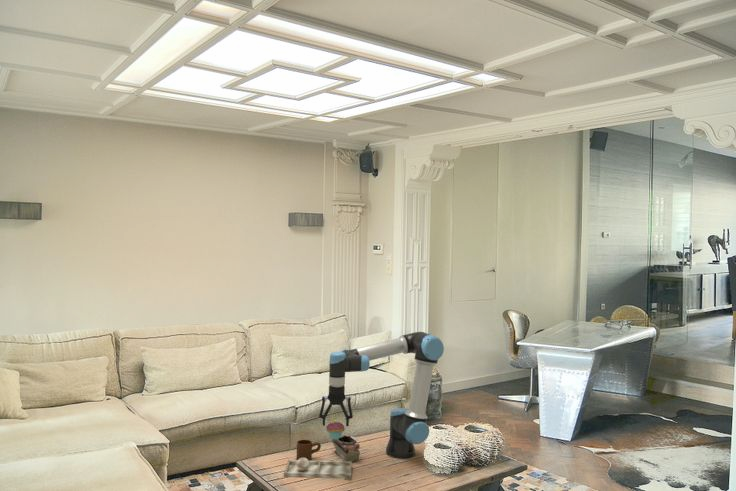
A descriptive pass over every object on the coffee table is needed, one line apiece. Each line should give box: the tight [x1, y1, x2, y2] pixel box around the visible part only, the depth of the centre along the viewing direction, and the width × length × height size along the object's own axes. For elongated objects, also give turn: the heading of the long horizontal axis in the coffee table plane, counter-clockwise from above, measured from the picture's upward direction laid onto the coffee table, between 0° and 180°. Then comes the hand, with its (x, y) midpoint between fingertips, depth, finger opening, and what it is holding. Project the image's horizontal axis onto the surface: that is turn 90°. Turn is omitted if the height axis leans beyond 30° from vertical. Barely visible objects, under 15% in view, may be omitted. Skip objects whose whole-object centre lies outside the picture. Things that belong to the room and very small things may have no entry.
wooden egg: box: [297, 457, 309, 471], centre depth 290 cm, size 6×6×6 cm
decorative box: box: [331, 434, 361, 463], centre depth 312 cm, size 13×20×10 cm, turn 18°
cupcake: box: [327, 413, 345, 440], centre depth 290 cm, size 9×8×12 cm
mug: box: [296, 439, 322, 461], centre depth 305 cm, size 12×8×9 cm, turn 99°
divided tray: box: [283, 459, 352, 481], centre depth 290 cm, size 31×16×2 cm, turn 91°
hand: (335, 432), depth 290 cm, fingers closed on cupcake, 8 cm apart
